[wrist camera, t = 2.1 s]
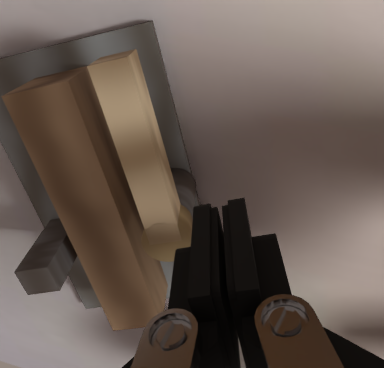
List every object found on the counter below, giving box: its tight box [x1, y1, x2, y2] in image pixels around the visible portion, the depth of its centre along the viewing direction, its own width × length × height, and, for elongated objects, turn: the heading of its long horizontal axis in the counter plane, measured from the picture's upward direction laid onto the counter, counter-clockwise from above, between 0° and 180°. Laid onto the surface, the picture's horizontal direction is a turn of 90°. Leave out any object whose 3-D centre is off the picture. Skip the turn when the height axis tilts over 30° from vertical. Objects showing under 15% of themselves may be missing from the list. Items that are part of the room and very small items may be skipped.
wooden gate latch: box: [0, 21, 200, 331], centre depth 32 cm, size 16×28×9 cm, turn 13°
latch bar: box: [87, 49, 193, 262], centre depth 25 cm, size 15×4×3 cm, turn 13°
